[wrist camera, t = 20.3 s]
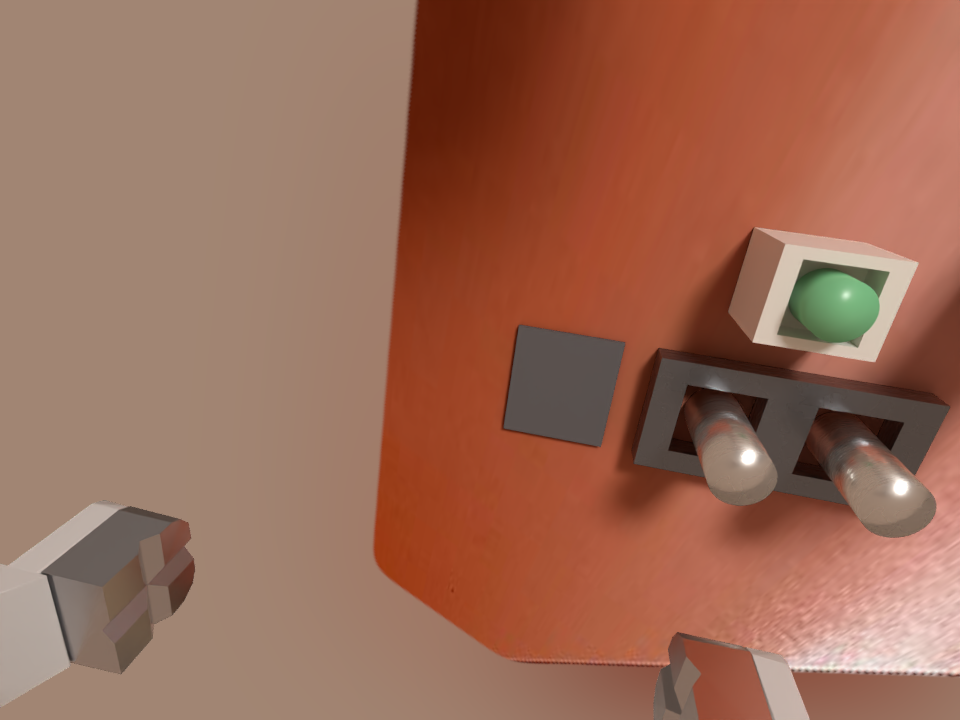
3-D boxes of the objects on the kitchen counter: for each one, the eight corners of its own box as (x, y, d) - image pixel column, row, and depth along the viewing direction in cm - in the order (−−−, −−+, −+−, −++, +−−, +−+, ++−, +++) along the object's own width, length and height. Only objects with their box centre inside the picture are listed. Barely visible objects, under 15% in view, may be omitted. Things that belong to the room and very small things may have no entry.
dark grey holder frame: (658, 347, 41) (662, 357, 39) (933, 393, 38) (950, 406, 36) (631, 450, 44) (633, 463, 42) (881, 497, 42) (894, 514, 40)
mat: (519, 324, 42) (518, 326, 41) (624, 342, 41) (625, 344, 40) (504, 426, 45) (503, 428, 45) (600, 444, 44) (600, 446, 44)
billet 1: (691, 383, 41) (717, 444, 33) (746, 392, 41) (786, 457, 32) (677, 428, 43) (699, 498, 35) (730, 438, 42) (765, 511, 34)
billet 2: (815, 406, 40) (875, 476, 32) (873, 416, 40) (948, 489, 32) (797, 452, 42) (849, 529, 34) (852, 462, 41) (918, 543, 33)
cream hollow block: (754, 227, 36) (785, 243, 31) (865, 242, 36) (918, 262, 30) (727, 312, 39) (752, 342, 33) (831, 328, 38) (874, 362, 32)
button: (800, 263, 32) (820, 275, 30) (864, 273, 32) (890, 285, 29) (780, 320, 34) (797, 337, 31) (841, 330, 33) (864, 347, 31)
